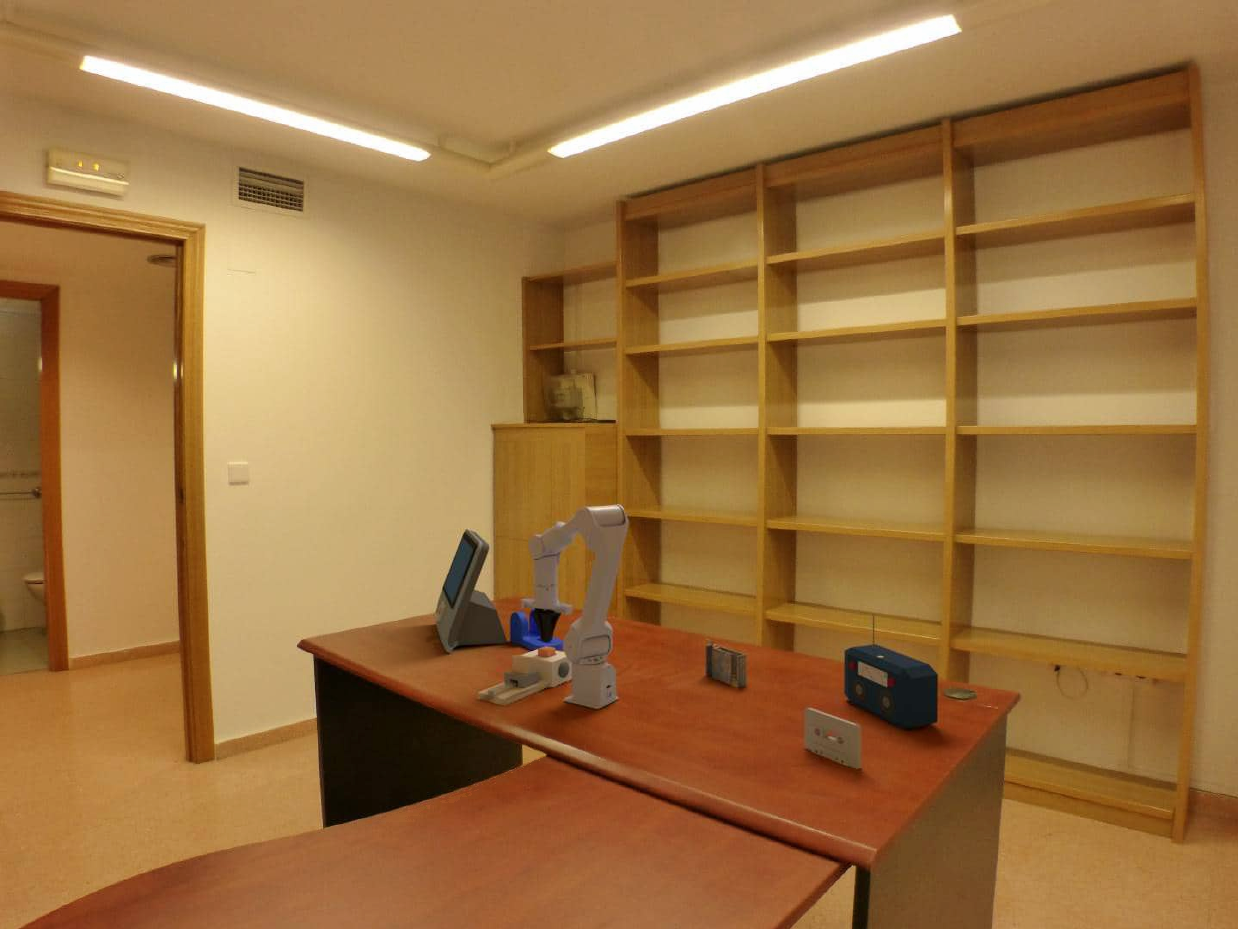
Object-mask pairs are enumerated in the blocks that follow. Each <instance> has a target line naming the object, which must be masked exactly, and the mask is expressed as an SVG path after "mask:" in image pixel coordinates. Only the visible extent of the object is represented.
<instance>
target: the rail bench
mask: <svg viewBox="0 0 1238 929" xmlns="http://www.w3.org/2000/svg"><path fill="white" fill-rule="evenodd" d="M504 684H506V683H504V682H502V683H498V684H496V685H493V686H490V687H488V688H485V689H483V690H481V691H478V692H477V699H478V700H480V699H482V700H481V701H484V700H486V701H485V702H488V701H489V703H492V702H493V704H497V705H499V706H503V705H505V706H508V705H510V704H512V703H514V702H513V701H515V700H517V701H519V700H518V699H520V700H522V699H524V698H527V697H528V696H527V695H529V694H531V695H533V694H532V693H534V694H536V693H538V691H539V692H541V691H543V690H545V689H544V688H546V687H548V688H550V687H549V681H548V680H544V679H539V682H537V683H535V684H532V685H530V686H527V687H525V688H523V687H516V688H513V689H511V690H508V691H506V692H503V693H501V694H498V695H496V696H491V695H488V690H491V689H493V688H496V687H498V686H501V685H504ZM542 689H543V690H542ZM546 689H547V688H546ZM540 690H541V691H540ZM535 692H536V693H535ZM526 696H527V697H526ZM529 696H530V695H529ZM523 697H524V698H523ZM511 702H512V703H511ZM515 702H516V701H515ZM509 703H510V704H509ZM507 704H508V705H507Z"/></svg>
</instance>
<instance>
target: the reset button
mask: <svg viewBox="0 0 1238 929" xmlns="http://www.w3.org/2000/svg"><path fill="white" fill-rule="evenodd" d="M554 655H556V649H555V648H553V647H547V646H545V647H542V648H539V649H538V656H541V657H546V658H549V657H552V656H554Z"/></svg>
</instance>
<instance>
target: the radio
mask: <svg viewBox="0 0 1238 929" xmlns="http://www.w3.org/2000/svg"><path fill="white" fill-rule="evenodd" d="M843 665H844V675H843V677H844V681H843V682H844V690H843V692H844V693H843V694H844V695H845V696H846V698H847V699H848V701H849V702H850V703H851V704H852V705H854V706H857V707H858V708H860V709H862V710H865V711H866V712H867V713H870V714H872V715H874V716H876V717H878V718H880V719H882V720H884V721H886V722H888V723H890V724H892V725H894V726H895V727H898V728H900V729H901V730H906V729H907V730H908V729H913V728H919V727H924V726H925V727H926V726H929V725H933V724H935V723H938V719H939V718H938V717H939V716H938V711H939V709H938V708H939V707H938V702H939V701H938V700H939V698H938V697H939V695H938V694H939V692H938V691H939V687H938V686H939V684H938V683H939V679H938V678H939V674H938V673H937V672H936V670H934V668H933V667H932V666H931V665H930V664H929V663H926V662H924V661H921V660H918V659H916V658H913V657H910V656H908V655H905V654H902V653H900V652H897V651H895V650H892V649H890V648H887V647H884V646H882V645H879V644H876V643H875V612H874V613H872V644H867V645H865V644H864V645H859V646H858V645H857V646H850V647H849V648H847V649H845V650H844V664H843Z"/></svg>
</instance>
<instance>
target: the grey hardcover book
mask: <svg viewBox="0 0 1238 929" xmlns="http://www.w3.org/2000/svg"><path fill="white" fill-rule="evenodd" d="M704 640H705V641H706V642H707V643H709V644H708V645H705V676H706V677H707V676H710V675H711V678H712V679H715V680H718V681H720V682H722V683H725V684H728V685H730V686H733V687H735V688H742V687H746V686H747V654H746V653H742V652H739V651H736V650H733V649H730V648H727V647H724V646H720V645H718V643H717V642H715V641H714V640H713V639H709V638H706V637H704Z"/></svg>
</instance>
